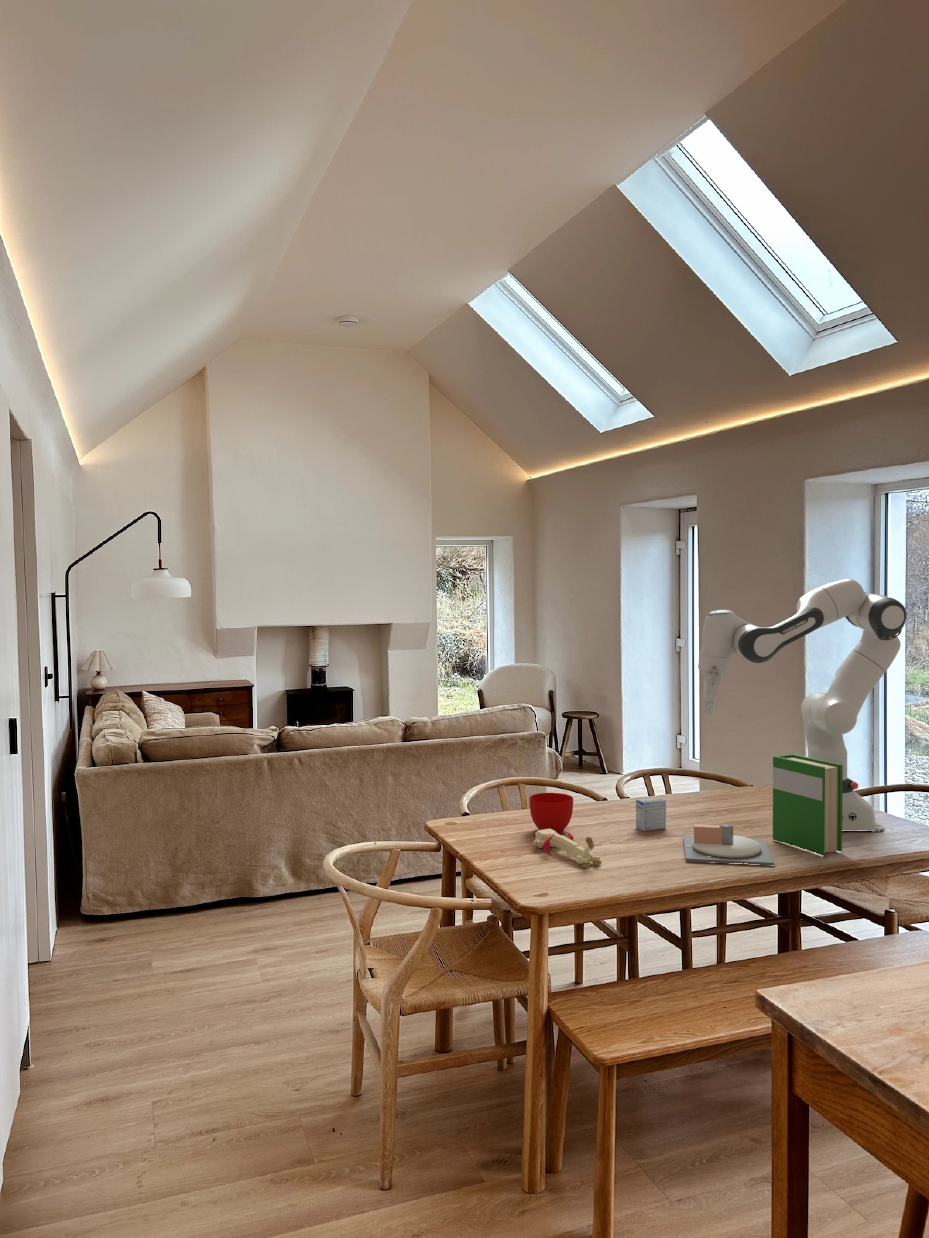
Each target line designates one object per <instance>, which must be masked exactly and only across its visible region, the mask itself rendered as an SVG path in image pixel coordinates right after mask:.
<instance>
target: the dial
mask: <svg viewBox="0 0 929 1238" xmlns="http://www.w3.org/2000/svg"><path fill="white" fill-rule="evenodd" d="M693 836H694V839H693V840H692V847H693V848H694V849H695V850H696V851H698V852H701V853H704V854H707V855H712V856H718V857H728V858H742V857H750V856H755V855H757V854H759V853H760V852H761V844H760V843H759V842H757V841H755V840H753V839H754V838H748V837H745V836H741V835H734V825H733V824H729V823H721V824H719V825H716V824H715V825H714V824H697V823H696V824H695V823H694V824H693Z"/></svg>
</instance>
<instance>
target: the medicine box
mask: <svg viewBox="0 0 929 1238" xmlns="http://www.w3.org/2000/svg"><path fill="white" fill-rule="evenodd" d="M635 828H636V829H638V830H640V831H641V832H650V831H656V830H664V829H666V828H667V800H666V799H663V798H661V797H658V796H657V797H648V798H641V799H636V800H635Z"/></svg>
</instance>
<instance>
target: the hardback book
mask: <svg viewBox="0 0 929 1238" xmlns="http://www.w3.org/2000/svg"><path fill="white" fill-rule="evenodd" d="M842 783H843V765H842V764H837V763H832V762H828V761H823V760H818V759H814V758H809V757H808V756H803V755H799V754H793V753H790V754H782V755H774V756H772V840H773V839H774V840H777V841H780V842H785V843H788V844H790V845H795V846H798V847H800V848H803V849H807V850H809V851H812V852H816V853H818V854H821V855H824V856H825V854H827V853H826V852H829V853H835V852H834V851H837V850H838V851H842V852H843V832H842Z"/></svg>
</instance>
